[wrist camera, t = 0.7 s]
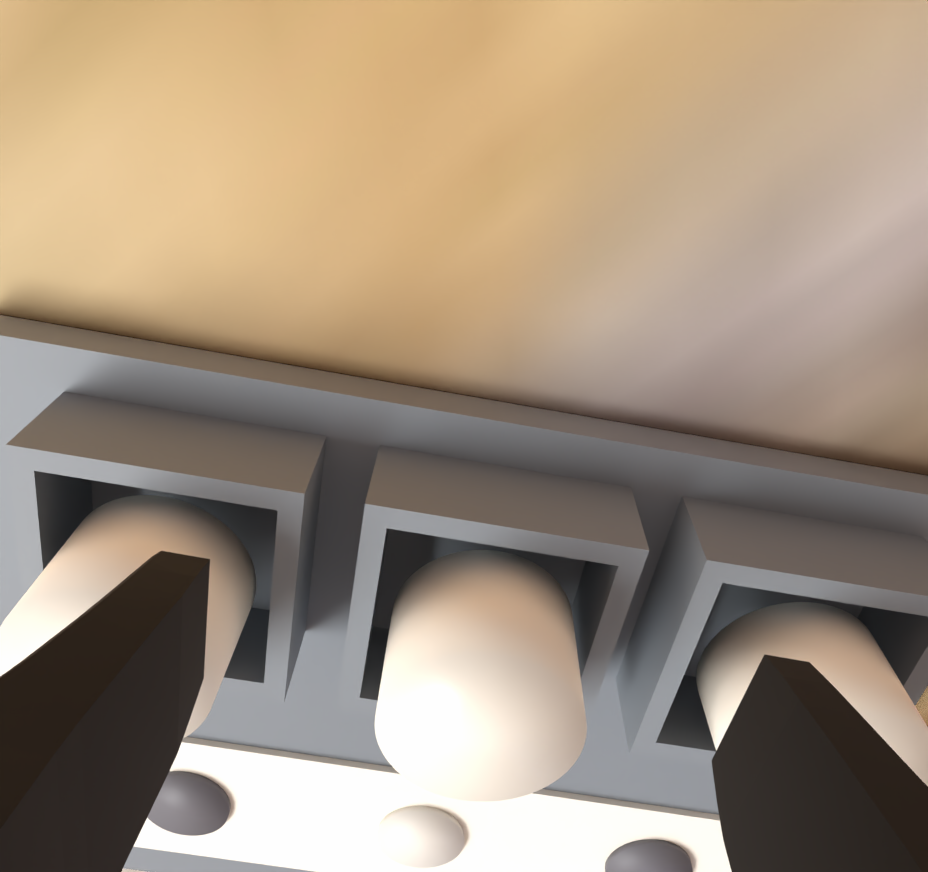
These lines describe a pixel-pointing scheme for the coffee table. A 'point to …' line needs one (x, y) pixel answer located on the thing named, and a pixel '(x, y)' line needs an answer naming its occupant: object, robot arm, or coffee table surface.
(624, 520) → the console
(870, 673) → the button
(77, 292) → the coffee table surface
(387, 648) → the button middle
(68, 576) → the button
